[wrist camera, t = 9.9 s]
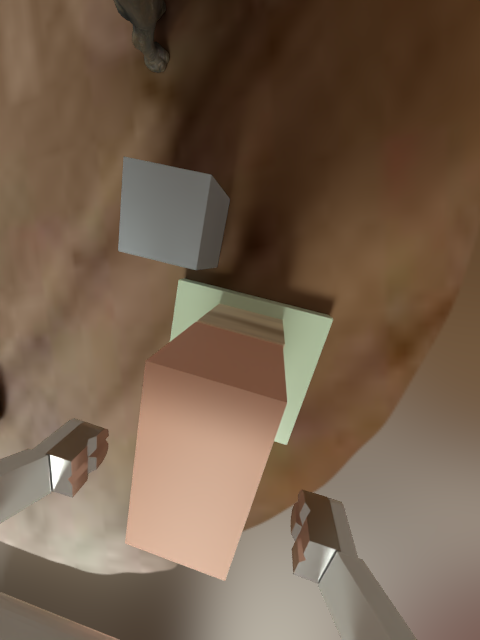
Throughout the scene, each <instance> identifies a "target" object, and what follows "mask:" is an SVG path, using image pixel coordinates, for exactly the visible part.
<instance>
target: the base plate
mask: <svg viewBox="0 0 480 640" xmlns="http://www.w3.org/2000/svg"><path fill="white" fill-rule="evenodd" d="M219 303H220V304H224V305H228V306H232V307H235V308H239V309H243V310H247V311H251V312H255V313H258V314H262V315H266V316H270V317H274V318H277V319H281V320H283V329H284V339H285V346H284V349H283V353H284V366H285V379H286V392H287V405H286V408H285V411H284V414H283V416H282V419H281V422H280V425H279V428H278V431H277V434H276V436H275V439H274V441H276V442H279V443H282V444H285V445H287V443H288V440H289V437H290V435H291V432H292V429H293V427H294V424H295V421H296V418H297V416H298V413H299V410H300V408H301V405H302V402H303V400H304V397H305V394H306V391H307V389H308V386H309V383H310V381H311V378H312V375H313V372H314V370H315V367H316V364H317V362H318V359H319V356H320V354H321V351H322V348H323V345H324V343H325V340H326V337H327V335H328V332H329V329H330V327H331V324H332V321H333V318H332V317H331V316H330V315H327V314H323V313H319V312H315V311H311V310H307V309H303V308H299V307H295V306H291V305H288V304H284V303H280V302H276V301H272V300H268V299H264V298H260V297H256V296H252V295H248V294H244V293H240V292H236V291H233V290H229V289H225V288H221V287H217V286H213V285H209V284H205V283H201V282H197V281H193V280H189V279H185V278H184V279H179V281H178V288H177V295H176V303H175V310H174V317H173V324H172V331H171V338H170V341H172V340H173V339H174V338H175V337H177V336H178V335H179V334H181V333H182V332H183V331H184V330H186V329H187V328H188V327H190V326H191V325H192V324H193V323H195V322H197V321H198V320H199V319H200V318H201V317H203V316H204V315H205V314H206V313H208V312H209V311H210V310H211V309H213V308H214V307H215V306H217V305H218V304H219Z"/></svg>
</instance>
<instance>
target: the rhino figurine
mask: <svg viewBox="0 0 480 640" xmlns="http://www.w3.org/2000/svg"><path fill="white" fill-rule="evenodd" d="M114 3H115V5H116V7H117V10H118V12H119V13H120V15H121V16H122V17H124V18H125V19H126V20H127V21H130V22H131V23H132V24H133V33H132V41H133V44H134V46H135V48H136V49H138V50H140V51H141V52H142V53H143V54H144V61H145V64H146V66H147V67H148V68H149V69H150V70H151V71H153V72H157V73H159V72H163V71H164V70H165V68H166V64H167V63H168V61H169V54H168V52H167V51H166V50H165V49H164V48H163V47H161V45H160V44H159V43H157V42H153V41H154V31H155V25H156V22H157V20H158V19H159V18H160V17H161V16H162V15H163V13H164V12H165V11H166V4H165V2H164V0H114Z"/></svg>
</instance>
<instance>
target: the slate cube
mask: <svg viewBox="0 0 480 640" xmlns="http://www.w3.org/2000/svg"><path fill="white" fill-rule="evenodd" d="M229 203H230V198H229V197H228V196H227V194H226V193H225V192H224V190H223V189H222V188H221V187H220V185H219V184H218V183H217V181H216V180H215V179H214V177H213V176H212V175H210V174H205V173H201V172H196V171H191V170H186V169H181V168H176V167H172V166H167V165H162V164H157V163H152V162H148V161H143V160H138V159H133V158H128V157H124V159H123V177H122V194H121V212H120V229H119V247H118V251H121V252H125V253H129V254H133V255H137V256H141V257H145V258H149V259H153V260H157V261H161V262H165V263H169V264H173V265H177V266H181V267H185V268H189V269H193V270H201V269H209V268H216V267H217V266H218V261H219V255H220V250H221V245H222V240H223V234H224V229H225V224H226V219H227V213H228V208H229Z"/></svg>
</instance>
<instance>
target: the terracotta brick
mask: <svg viewBox="0 0 480 640" xmlns="http://www.w3.org/2000/svg"><path fill="white" fill-rule="evenodd" d="M286 405H287V392H286V379H285V366H284V353H283V346H282V345H279V344H275V343H272V342H268V341H264V340H261V339H257V338H253V337H250V336H246V335H242V334H239V333H235V332H232V331H228V330H224V329H221V328H217V327H213V326H210V325H206V324H202V323H199V322H195V323H193V324H192V325H191V326H190V327H188V328H187V329H186V330H184V331H183V332H182V333H181V334H179V335H178V336H177V337H175V338H174V339H173V340H172V341H170V342H169V343H168V344H167V345H165V346H164V347H163V348H161V349H160V350H159V351H158V352H156V353H155V354H154V355H152V356H151V357H150V358H149V359H147V360H146V363H145V372H144V381H143V390H142V399H141V407H140V416H139V425H138V434H137V443H136V452H135V461H134V469H133V478H132V487H131V496H130V505H129V514H128V522H127V531H126V540H125V543H126V544H128V545H131V546H134V547H136V548H139V549H141V550H144V551H147V552H149V553H152V554H155V555H157V556H160V557H163V558H165V559H168V560H171V561H173V562H176V563H179V564H181V565H184V566H187V567H189V568H192V569H195V570H197V571H200V572H203V573H205V574H208V575H210V576H213V577H216V578H218V579H221V580H224V581H225V579H226V576H227V573H228V571H229V568H230V565H231V562H232V559H233V556H234V554H235V551H236V548H237V545H238V542H239V539H240V536H241V534H242V531H243V528H244V525H245V522H246V519H247V516H248V514H249V511H250V508H251V505H252V502H253V499H254V496H255V494H256V491H257V488H258V485H259V482H260V479H261V476H262V474H263V471H264V468H265V465H266V462H267V459H268V456H269V454H270V451H271V448H272V445H273V442H274V439H275V436H276V434H277V431H278V428H279V425H280V422H281V419H282V416H283V414H284V411H285V408H286Z"/></svg>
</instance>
